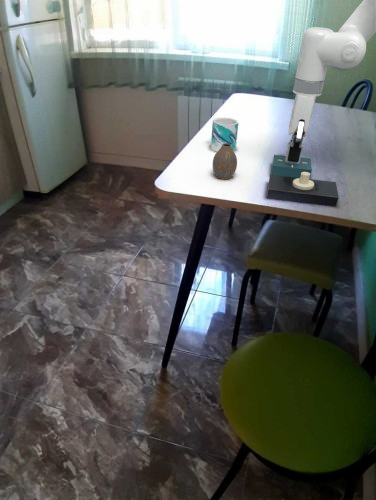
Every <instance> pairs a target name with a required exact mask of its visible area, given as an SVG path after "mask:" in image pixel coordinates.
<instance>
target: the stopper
mask: <svg viewBox="0 0 376 500" xmlns="http://www.w3.org/2000/svg"><path fill="white" fill-rule="evenodd" d="M309 178H310V179H311V175H310V173H308V172H302V173H301V176H300V178H298V179H295V180H293V186H294V187H295V188H298V189H302V190H310V189H312V188H313V187H314V182H313V181H311V180H309Z"/></svg>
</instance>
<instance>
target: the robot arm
mask: <svg viewBox="0 0 376 500" xmlns="http://www.w3.org/2000/svg"><path fill="white" fill-rule="evenodd" d="M375 34H376V0H362V1H361V2H360V4H359V5H358V6H357V7H356V8H355V10H353V12H352V13H351V15H350V16H349V17H348V19H346V21H345V22H344V23H343V24H342V26H341V27H340V28H339V29H338V31H334V30H333V29H331V28H328V27H322V26H321V27H319V26H313V27H308V28H306V29H305V31H304V32H303V34H302V40H301V45H300V50H299V54H298V55H299V56H298V62H297V66H296V71H295V77H294V82H293V87H292V93H293V94H295V97H294V100H293V105H292V109H291V115H290V120H289V125H288V135H289V136H291V139H290V140H289V142H292V144H291V146H290V149H289V154H288V161H292V162H298V161H299V158H300V153H301V149H302V147H301V146H302V143H303V140H304V137H306V136H307V134H308V132H309V127H310V123H311V121H312V116H313V112H314V108H315V104H316V99H317V97H320V96H322V93H323V89H324V85H325V80H326V76H327V71H328V67H329V66H330V67H334V68H339V69H343V70H349V69H353V68H354V67H356V66H358V65H359V64H360V63H361V62H362V61H363V60H364V58H365V55H366V53H367V43H368V42H369V41H370V40H371V38H373V36H374V35H375Z"/></svg>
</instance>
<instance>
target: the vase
mask: <svg viewBox="0 0 376 500" xmlns="http://www.w3.org/2000/svg"><path fill="white" fill-rule="evenodd" d="M237 168H238V157H237V154H236V153H235V150H234V151H233V149H232V147H231V145H230V144H227V143H225V144H223V145H222V146H221V148H220V149H219V150H218V151H217V152H216V153H215V154H214V156H213V159H212V171H213V173H214V176H215V177H216V178H218V179H219V180H228V179H231V178H232V177H233V176H234V175H235V173H236V171H237Z"/></svg>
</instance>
